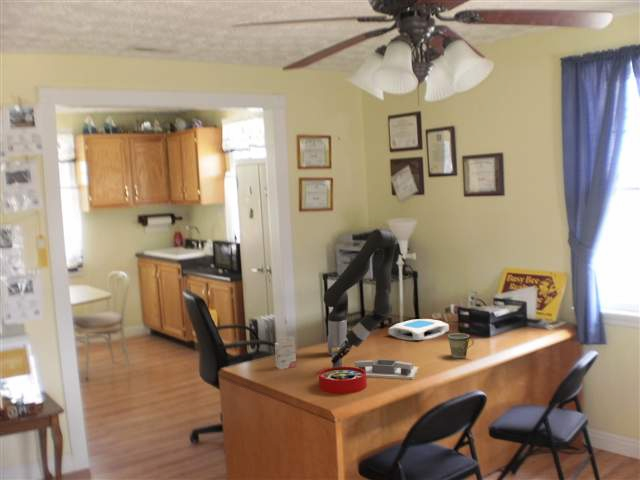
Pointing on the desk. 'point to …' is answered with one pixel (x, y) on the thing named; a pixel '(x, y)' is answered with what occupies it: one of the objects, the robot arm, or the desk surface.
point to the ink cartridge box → (285, 353)
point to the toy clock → (342, 380)
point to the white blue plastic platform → (418, 329)
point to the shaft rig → (387, 369)
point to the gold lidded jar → (334, 353)
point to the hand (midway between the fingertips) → (332, 360)
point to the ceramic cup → (459, 344)
